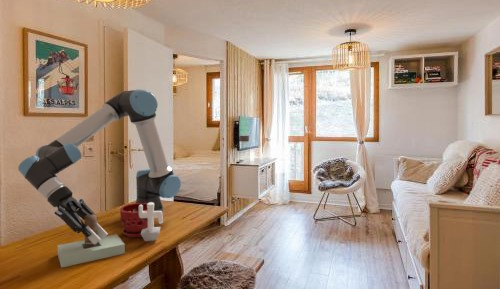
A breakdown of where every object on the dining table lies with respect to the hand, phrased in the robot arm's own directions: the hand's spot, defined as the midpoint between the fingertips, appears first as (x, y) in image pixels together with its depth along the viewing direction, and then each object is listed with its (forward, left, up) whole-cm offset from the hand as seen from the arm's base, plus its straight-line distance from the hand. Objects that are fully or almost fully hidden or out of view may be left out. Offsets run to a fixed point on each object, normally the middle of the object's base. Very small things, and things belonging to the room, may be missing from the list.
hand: (101, 239), depth 113 cm
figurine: (-20, -5, -6) cm, 21 cm away
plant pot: (-17, -14, -6) cm, 22 cm away
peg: (+3, -3, -5) cm, 6 cm away
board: (+3, -2, -6) cm, 7 cm away
